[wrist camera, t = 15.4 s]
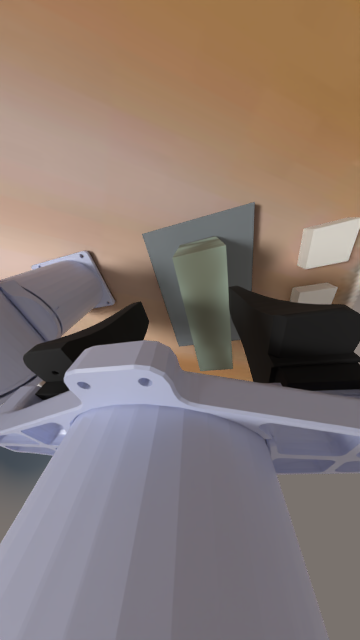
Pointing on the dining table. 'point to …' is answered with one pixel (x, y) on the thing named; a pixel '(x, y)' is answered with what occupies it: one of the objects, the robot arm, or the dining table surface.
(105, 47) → the dining table surface
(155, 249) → the slate board
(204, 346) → the block
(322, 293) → the chalk tile
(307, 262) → the chalk tile
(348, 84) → the dining table surface
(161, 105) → the dining table surface
